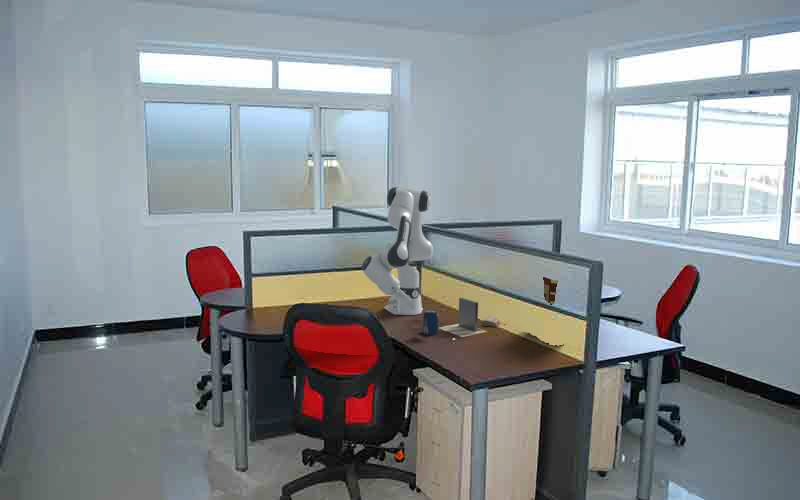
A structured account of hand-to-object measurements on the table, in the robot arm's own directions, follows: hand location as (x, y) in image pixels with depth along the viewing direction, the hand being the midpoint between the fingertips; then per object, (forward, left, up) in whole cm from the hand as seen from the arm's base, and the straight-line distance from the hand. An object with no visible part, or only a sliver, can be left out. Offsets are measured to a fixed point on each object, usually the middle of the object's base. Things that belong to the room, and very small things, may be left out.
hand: (410, 305), depth 290 cm
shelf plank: (+7, +25, -15) cm, 30 cm away
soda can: (+3, +9, -15) cm, 18 cm away
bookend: (+7, +30, -14) cm, 34 cm away
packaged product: (+6, +46, -16) cm, 49 cm away
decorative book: (+36, +51, -15) cm, 65 cm away
